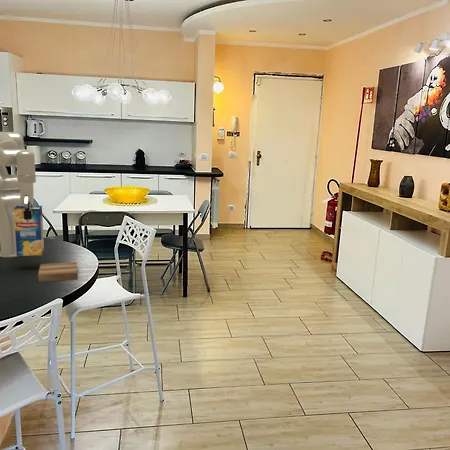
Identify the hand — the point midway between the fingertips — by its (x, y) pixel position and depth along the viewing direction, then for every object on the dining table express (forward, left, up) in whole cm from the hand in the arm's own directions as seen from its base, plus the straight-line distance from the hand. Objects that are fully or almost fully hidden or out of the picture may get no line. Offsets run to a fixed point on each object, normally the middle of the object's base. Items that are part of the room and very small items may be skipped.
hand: (28, 217), depth 201 cm
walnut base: (+12, +12, -24) cm, 30 cm away
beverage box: (0, 0, -18) cm, 18 cm away
